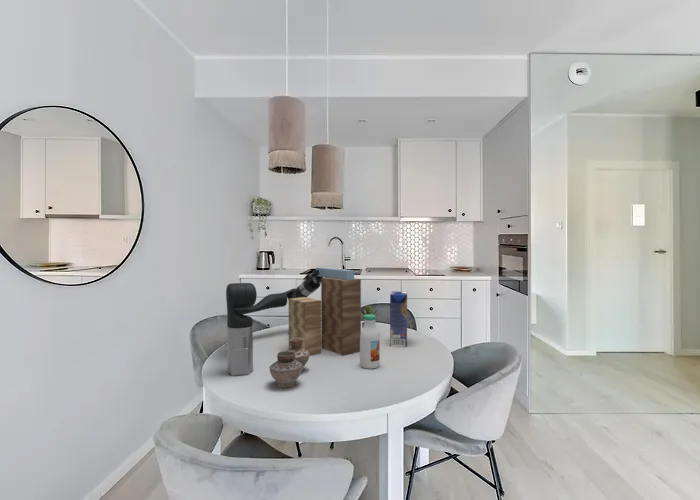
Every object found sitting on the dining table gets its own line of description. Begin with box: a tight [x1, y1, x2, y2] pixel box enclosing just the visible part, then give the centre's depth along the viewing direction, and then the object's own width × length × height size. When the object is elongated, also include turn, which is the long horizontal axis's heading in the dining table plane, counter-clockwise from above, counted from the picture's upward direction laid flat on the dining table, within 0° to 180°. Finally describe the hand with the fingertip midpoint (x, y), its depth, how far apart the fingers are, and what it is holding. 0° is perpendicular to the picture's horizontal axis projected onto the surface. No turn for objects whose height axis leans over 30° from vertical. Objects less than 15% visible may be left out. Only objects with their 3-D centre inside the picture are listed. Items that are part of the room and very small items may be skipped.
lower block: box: [288, 297, 322, 357], centre depth 173 cm, size 14×8×23 cm, turn 39°
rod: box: [315, 266, 355, 280], centre depth 178 cm, size 24×4×4 cm, turn 39°
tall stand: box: [320, 277, 362, 356], centre depth 175 cm, size 16×10×32 cm, turn 39°
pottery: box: [269, 338, 310, 388], centre depth 140 cm, size 11×25×12 cm, turn 175°
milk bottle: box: [359, 313, 381, 370], centre depth 152 cm, size 8×8×20 cm
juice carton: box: [389, 291, 408, 348], centre depth 185 cm, size 12×8×24 cm, turn 170°
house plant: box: [361, 304, 380, 329], centre depth 202 cm, size 14×14×16 cm
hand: (325, 271), depth 183 cm, fingers open, 8 cm apart
